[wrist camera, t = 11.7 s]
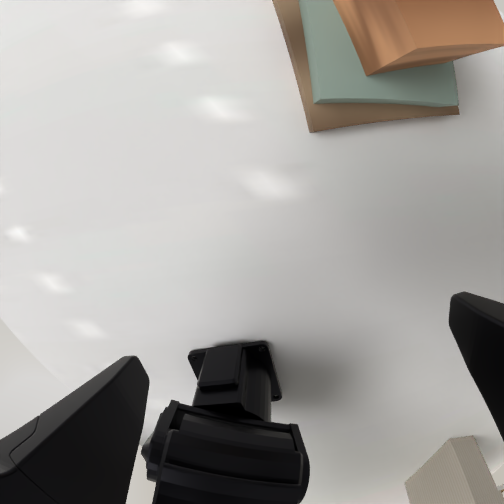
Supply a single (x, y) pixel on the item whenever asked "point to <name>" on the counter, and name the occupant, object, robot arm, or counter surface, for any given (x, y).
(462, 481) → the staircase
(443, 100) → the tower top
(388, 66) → the block
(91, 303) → the counter surface
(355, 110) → the tower base
